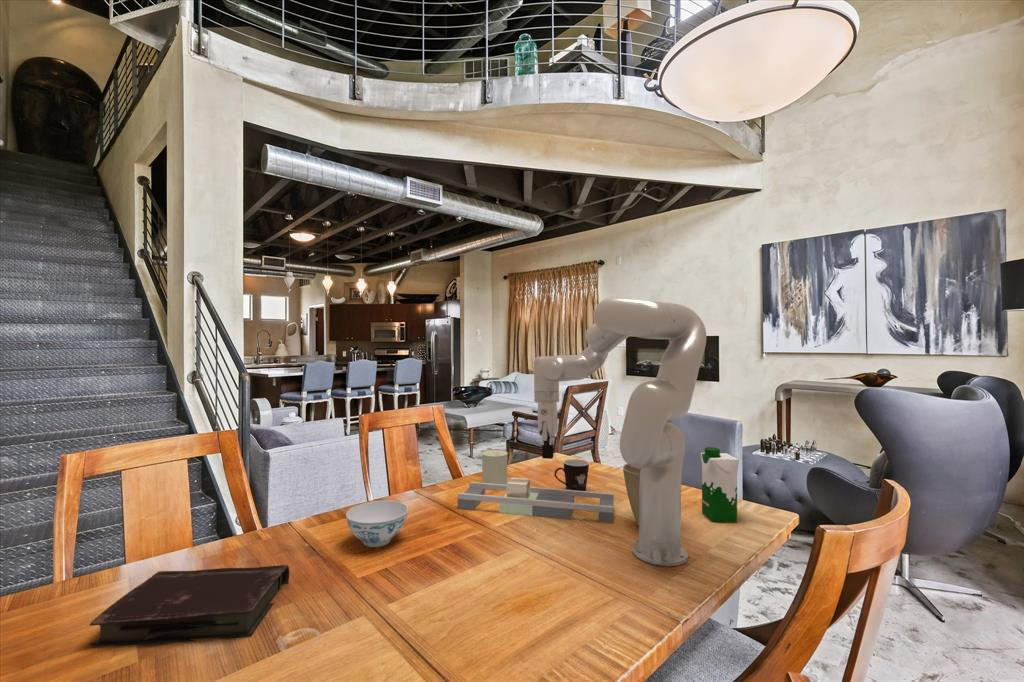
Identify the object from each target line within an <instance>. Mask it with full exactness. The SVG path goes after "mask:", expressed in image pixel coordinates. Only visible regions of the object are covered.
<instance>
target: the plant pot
mask: <svg viewBox="0 0 1024 682" xmlns="http://www.w3.org/2000/svg"><path fill="white" fill-rule="evenodd" d="M640 471H641V469H637V468H634V467H631V466H630V465H628V464H627V463H625V464H623V465H622V472H623V476H624V477H623V478H624V483H625V485H624V486H625V489H626V492H627V497H628V501H629V505H630V508H631V511H632V515H633V517H634V520H635V522H636V523H635V524H636V526H637V527H638V526H639V481H640Z"/></svg>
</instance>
